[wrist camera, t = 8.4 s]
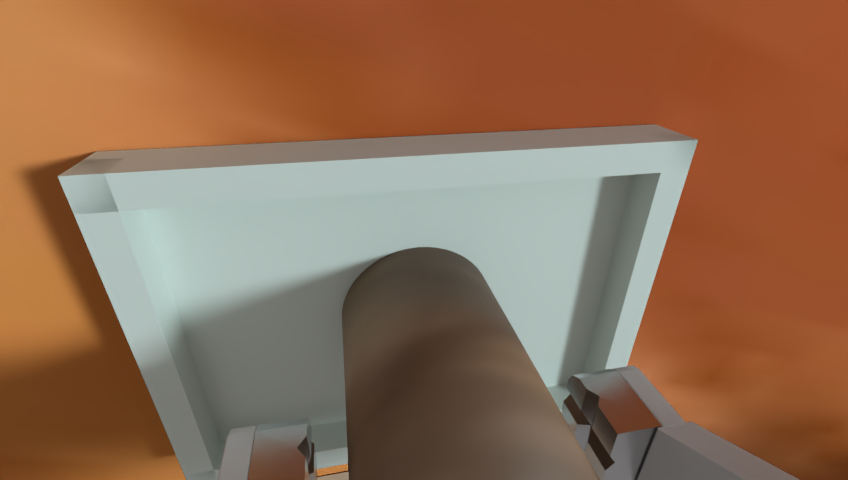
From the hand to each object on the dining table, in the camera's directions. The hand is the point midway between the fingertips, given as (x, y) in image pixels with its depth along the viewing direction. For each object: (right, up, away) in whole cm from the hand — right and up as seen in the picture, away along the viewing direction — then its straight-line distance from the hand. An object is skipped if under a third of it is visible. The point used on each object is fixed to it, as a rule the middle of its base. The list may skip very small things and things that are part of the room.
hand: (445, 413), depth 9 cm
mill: (-1, +2, +3) cm, 4 cm away
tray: (-1, +2, +4) cm, 4 cm away
